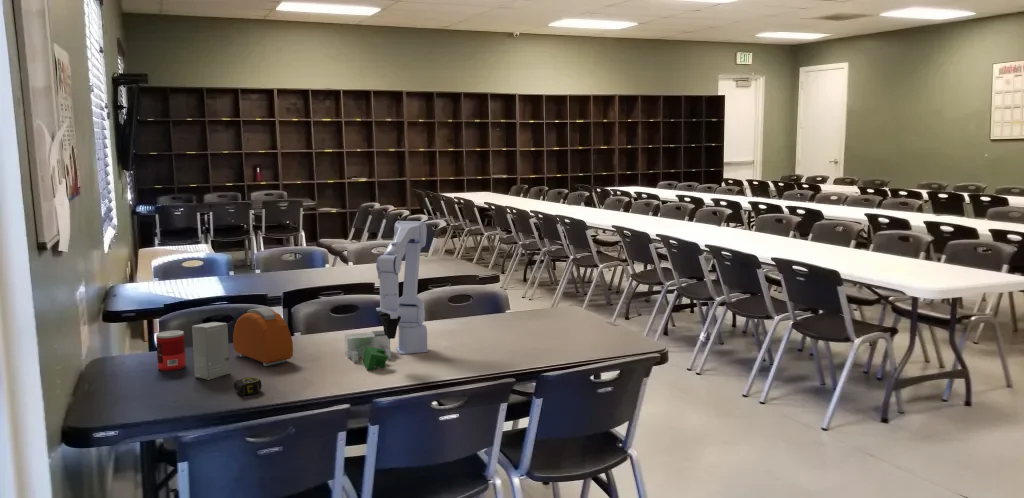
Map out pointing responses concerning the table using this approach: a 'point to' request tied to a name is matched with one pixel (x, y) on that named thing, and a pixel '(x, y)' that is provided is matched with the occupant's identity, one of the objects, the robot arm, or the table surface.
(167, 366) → the canned food
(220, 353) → the skincare box
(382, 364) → the clamp
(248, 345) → the orange toaster
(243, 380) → the tape measure
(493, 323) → the table surface
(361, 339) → the motor housing
